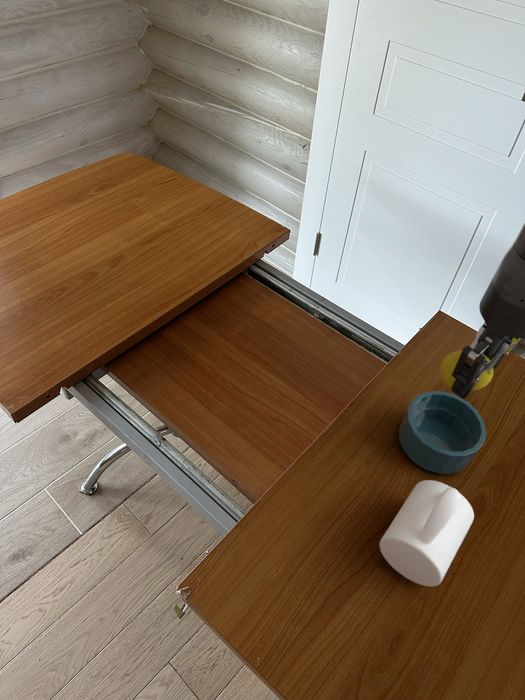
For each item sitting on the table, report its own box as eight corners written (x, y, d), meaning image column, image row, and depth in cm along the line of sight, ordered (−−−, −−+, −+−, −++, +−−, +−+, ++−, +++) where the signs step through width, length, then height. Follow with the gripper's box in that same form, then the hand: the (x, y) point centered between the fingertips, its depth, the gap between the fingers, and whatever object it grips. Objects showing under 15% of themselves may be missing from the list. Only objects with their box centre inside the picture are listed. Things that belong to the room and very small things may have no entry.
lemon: (442, 399, 72) (494, 400, 65) (421, 372, 70) (472, 371, 63) (459, 370, 74) (510, 369, 67) (439, 343, 72) (490, 339, 66)
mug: (372, 553, 68) (396, 514, 59) (407, 498, 74) (434, 454, 65) (428, 595, 65) (462, 561, 56) (461, 534, 71) (497, 494, 62)
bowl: (484, 447, 81) (500, 426, 76) (442, 491, 75) (457, 470, 71) (425, 401, 86) (437, 379, 82) (382, 439, 80) (392, 417, 76)
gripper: (527, 335, 51) (465, 429, 64) (590, 278, 58) (523, 373, 71) (463, 294, 55) (416, 391, 67) (529, 246, 62) (476, 342, 74)
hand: (471, 382), depth 69 cm, fingers closed on lemon, 5 cm apart
